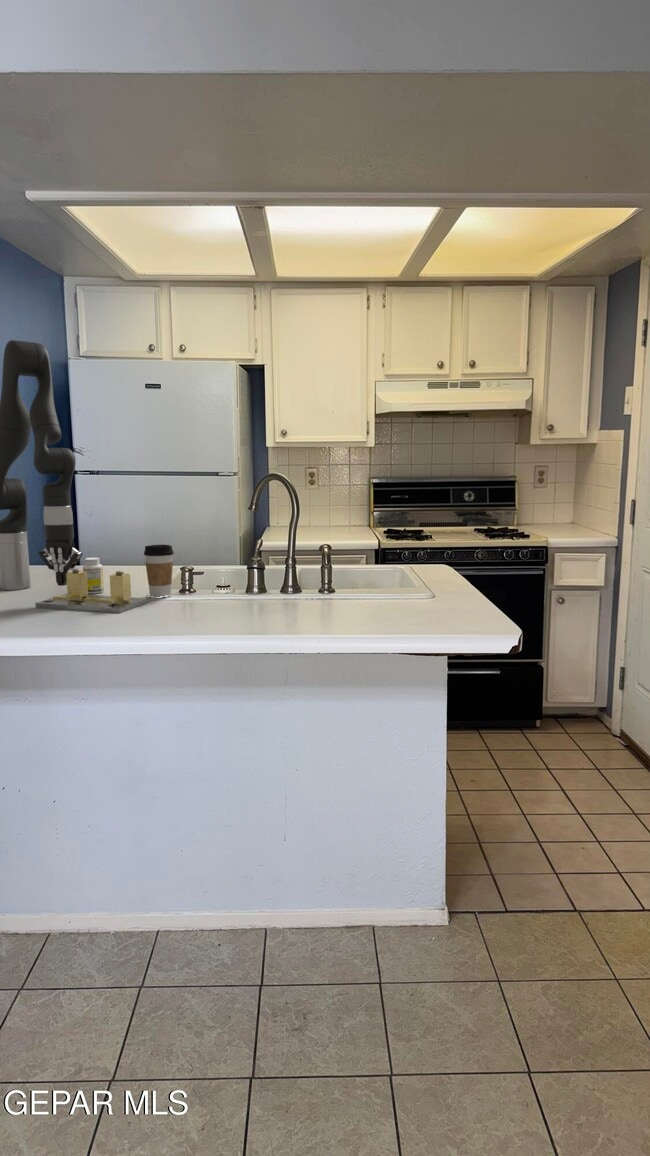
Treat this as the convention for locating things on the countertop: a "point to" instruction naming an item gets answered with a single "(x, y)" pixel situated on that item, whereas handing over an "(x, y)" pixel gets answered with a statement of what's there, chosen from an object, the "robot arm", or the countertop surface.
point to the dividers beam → (113, 590)
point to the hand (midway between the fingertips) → (62, 585)
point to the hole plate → (91, 604)
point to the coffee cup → (159, 569)
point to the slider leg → (76, 585)
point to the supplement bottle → (94, 575)
